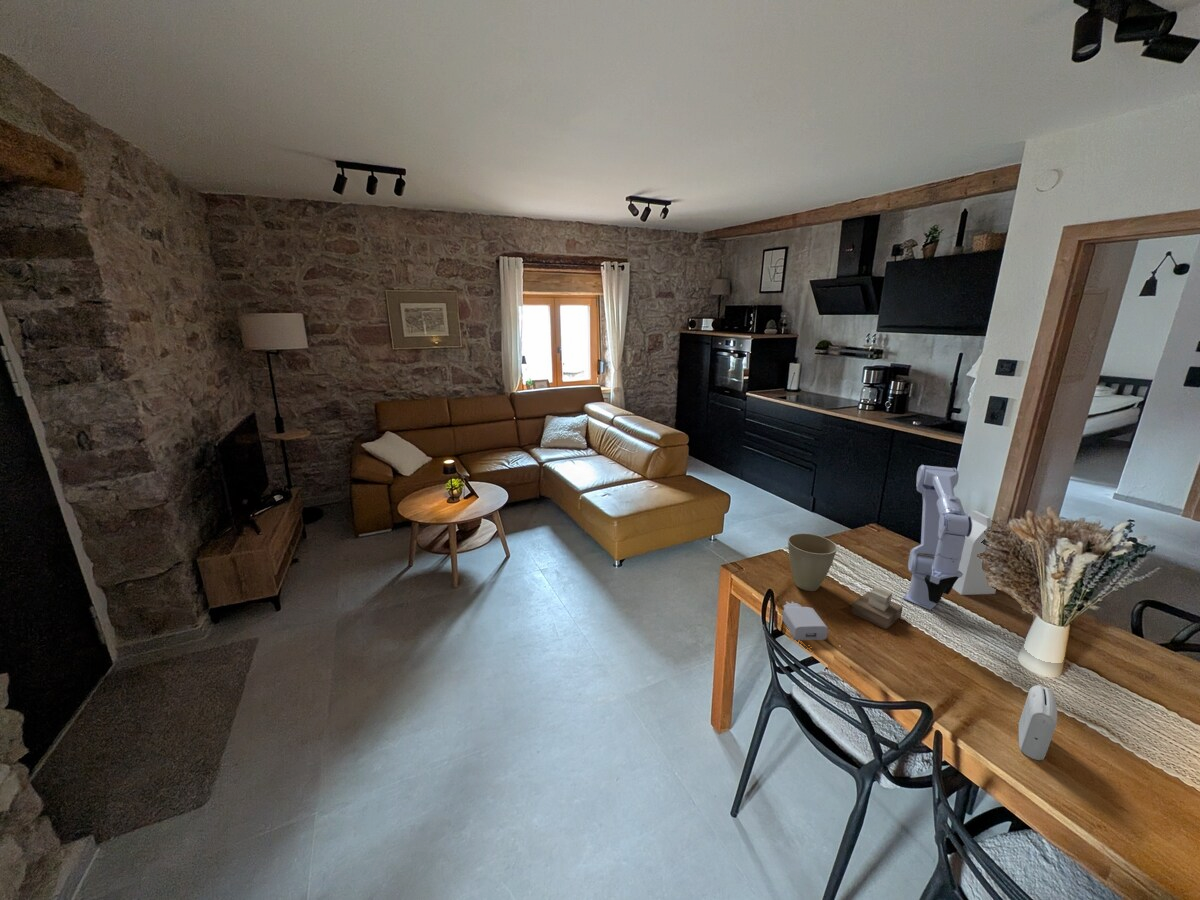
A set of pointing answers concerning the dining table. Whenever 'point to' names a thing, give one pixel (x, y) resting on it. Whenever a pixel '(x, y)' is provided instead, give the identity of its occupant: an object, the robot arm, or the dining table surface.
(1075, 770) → the dining table surface
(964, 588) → the milk
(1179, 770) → the dining table surface
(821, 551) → the plant pot
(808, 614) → the charger
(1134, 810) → the dining table surface
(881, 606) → the maple cube
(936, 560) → the robot arm
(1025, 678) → the dining table surface
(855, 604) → the walnut block
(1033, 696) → the photo printer
